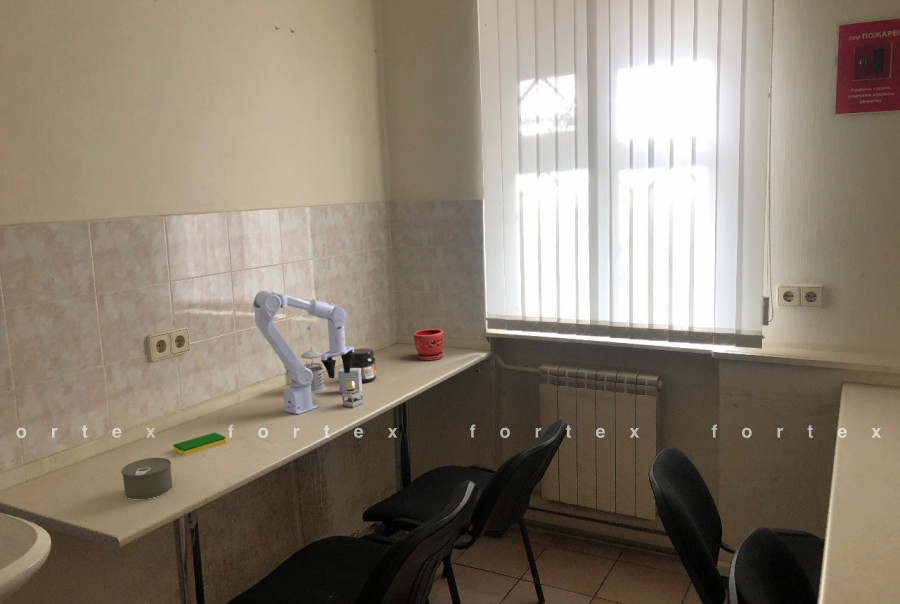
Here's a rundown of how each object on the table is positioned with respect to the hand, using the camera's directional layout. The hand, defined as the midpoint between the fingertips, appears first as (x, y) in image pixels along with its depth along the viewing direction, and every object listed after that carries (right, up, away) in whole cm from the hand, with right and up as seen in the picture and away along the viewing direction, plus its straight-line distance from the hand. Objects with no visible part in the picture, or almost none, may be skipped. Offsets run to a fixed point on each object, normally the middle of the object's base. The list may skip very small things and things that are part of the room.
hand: (339, 375), depth 264 cm
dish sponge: (-37, -19, -40) cm, 57 cm away
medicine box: (+2, -8, +12) cm, 15 cm away
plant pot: (+31, +1, +59) cm, 67 cm away
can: (-39, -24, -71) cm, 85 cm away
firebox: (+5, -10, -4) cm, 12 cm away
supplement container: (+5, -5, +28) cm, 29 cm away
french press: (-12, -8, +16) cm, 22 cm away
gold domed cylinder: (+5, -9, -4) cm, 12 cm away
